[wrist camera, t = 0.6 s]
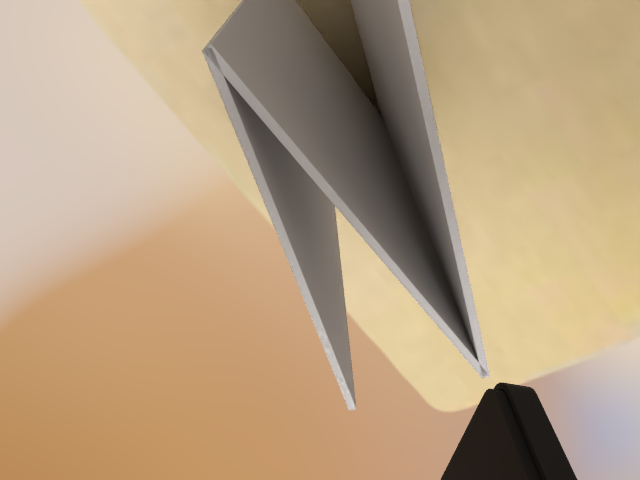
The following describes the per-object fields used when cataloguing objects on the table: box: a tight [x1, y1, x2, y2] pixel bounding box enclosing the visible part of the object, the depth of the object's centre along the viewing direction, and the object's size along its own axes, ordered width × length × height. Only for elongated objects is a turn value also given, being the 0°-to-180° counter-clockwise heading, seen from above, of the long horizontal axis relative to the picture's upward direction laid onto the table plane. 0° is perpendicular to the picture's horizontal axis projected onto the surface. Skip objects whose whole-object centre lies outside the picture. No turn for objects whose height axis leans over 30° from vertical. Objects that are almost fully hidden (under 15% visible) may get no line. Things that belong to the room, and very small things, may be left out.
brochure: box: [202, 0, 490, 410], centre depth 31 cm, size 14×6×30 cm, turn 17°
